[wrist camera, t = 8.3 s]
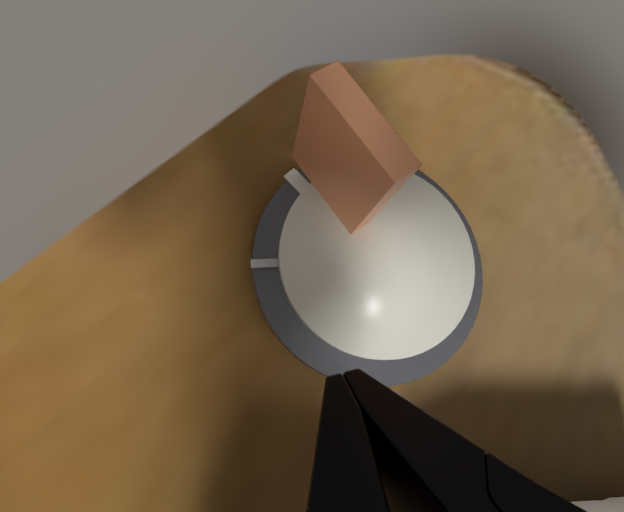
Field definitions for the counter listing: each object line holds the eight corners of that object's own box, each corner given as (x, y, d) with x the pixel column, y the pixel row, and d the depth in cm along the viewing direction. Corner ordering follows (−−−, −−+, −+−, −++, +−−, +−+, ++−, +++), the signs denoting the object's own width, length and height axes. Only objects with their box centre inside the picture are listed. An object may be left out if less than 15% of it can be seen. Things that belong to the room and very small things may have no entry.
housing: (496, 222, 27) (509, 215, 25) (431, 427, 22) (443, 431, 21) (312, 127, 26) (316, 115, 25) (207, 318, 22) (204, 315, 20)
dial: (499, 283, 24) (618, 249, 16) (360, 404, 20) (428, 434, 13) (368, 120, 25) (420, 18, 18) (219, 207, 22) (203, 127, 14)
